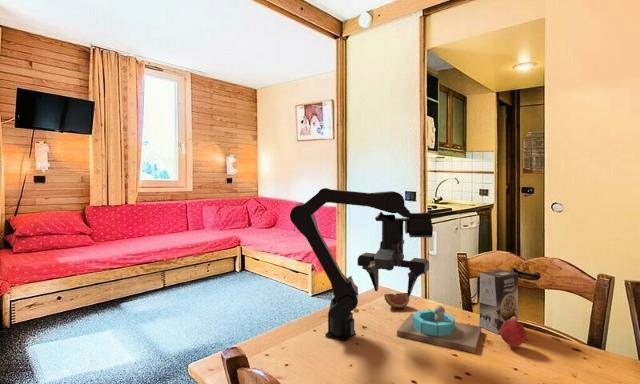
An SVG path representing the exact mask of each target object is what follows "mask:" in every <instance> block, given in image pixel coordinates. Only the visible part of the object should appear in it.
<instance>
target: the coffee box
mask: <svg viewBox="0 0 640 384" xmlns="http://www.w3.org/2000/svg"><path fill="white" fill-rule="evenodd" d="M518 306H519V273H518V272H514V271H510V270H504V269H500V268H497V269H494V270H487V271H483V272H481V271H480V273H479V309H478V310H479V311H478V312H479V313H478V315H479V317H478V326H480V327H481V328H483V329H485V330H488V331H490V332H492V333H494V334H496V335H499V334H500V329H501V326H502V324H503V323H504V322H505V321H507V320H509V319H511V318H512V317H516V321H518V319H519V318H518V317H519V315H518V312H519V307H518ZM518 322H519V321H518Z"/></svg>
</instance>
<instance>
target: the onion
mask: <svg viewBox="0 0 640 384" xmlns="http://www.w3.org/2000/svg"><path fill="white" fill-rule="evenodd" d="M499 334H500V337H501V339H502V340H503V341H504V342H505V343H506V344H507V345H508V346H510V347H511V348H512V349H514V348H515V349H516V348H517V347H519V346H521V345H523V344H524V343H525V341H527V340H526V339H527V332H526V329H525V328H524V326H523V325H522V324H521V323H520V322H519V321H516V317H512V318H511V319H509V320H507V321H505V322H504V323H503V324H502V326H501V329H500V333H499Z"/></svg>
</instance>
